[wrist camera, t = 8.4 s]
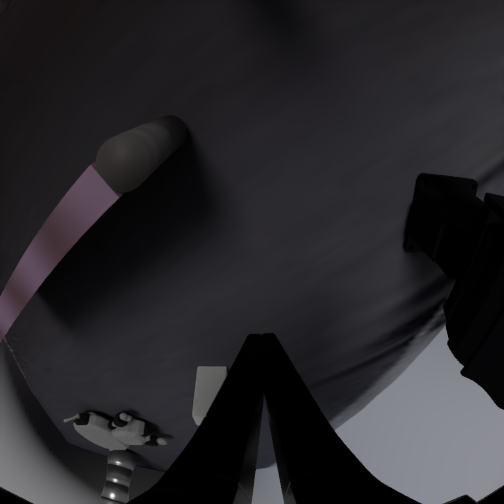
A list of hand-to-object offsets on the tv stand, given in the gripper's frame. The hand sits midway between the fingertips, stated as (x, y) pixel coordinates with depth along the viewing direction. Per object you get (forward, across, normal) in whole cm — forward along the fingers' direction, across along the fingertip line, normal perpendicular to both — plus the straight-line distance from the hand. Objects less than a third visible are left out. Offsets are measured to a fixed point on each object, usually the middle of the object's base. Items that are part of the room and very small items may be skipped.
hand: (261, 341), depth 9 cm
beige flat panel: (+11, +13, 0) cm, 17 cm away
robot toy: (+12, +25, +35) cm, 45 cm away
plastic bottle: (+11, +33, +54) cm, 64 cm away
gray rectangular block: (+12, +6, +19) cm, 23 cm away
